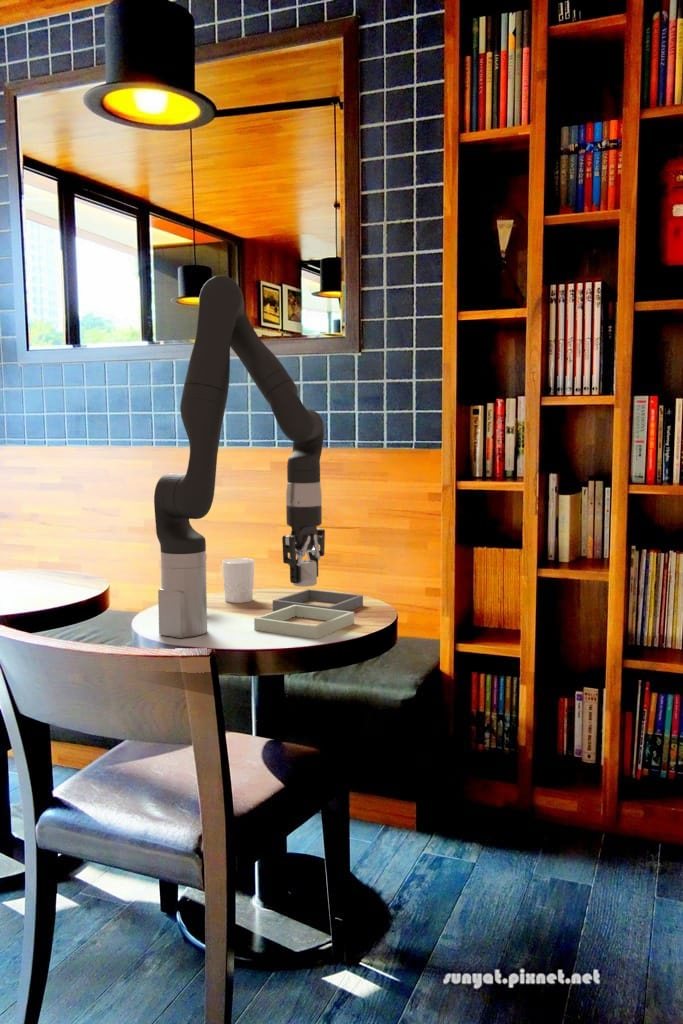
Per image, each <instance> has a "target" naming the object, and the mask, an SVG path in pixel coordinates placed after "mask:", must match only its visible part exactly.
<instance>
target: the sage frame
mask: <svg viewBox="0 0 683 1024" xmlns="http://www.w3.org/2000/svg"><path fill="white" fill-rule="evenodd" d="M295 616H297V617H296V618H303V617H304V618H305V619H311V620H319V621H324V622H322V623H319V624H316V625H313V624H305V623H298V622H292V621H287V620H289V619H292V617H293V618H295ZM304 618H303V619H304ZM284 620H285V621H284ZM253 621H254V622H253V623H254V629H253V630H254V631H259V630H260V631H262V632H266V633H274V634H281V635H287V636H294V637H300V638H307V639H315V640H318V639H320V638H322V637H323V638H324V637H326V636H328V635H331V634H333V633H334V632H338V631H340V630H342V629H345V628H346V627H349V626H351V625H355V612H354V611H341V610H333V609H325V608H317V607H309V606H301V605H292V606H289V607H286V608H283V609H280V610H277V611H271V612H269V613H266V614H262V615H260V616H256V617H253Z"/></svg>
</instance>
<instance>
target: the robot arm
mask: <svg viewBox="0 0 683 1024" xmlns="http://www.w3.org/2000/svg"><path fill="white" fill-rule="evenodd" d="M243 294H244V293H243V292H242V290H241V288H240V286H239V285H238V283H237V282H236V281H235V280H234V279H233V278H231V277H230V276H228V275H222V274H221V275H220V274H219V275H216V276H213V277H210V278H209V279H208V280H207V281H206V282H205V283H204V284H203V285H202V288H201V289H200V293H199V297H198V313H197V323H196V332H195V338H194V343H193V348H192V351H191V354H190V357H189V362H188V366H187V371H186V374H185V378H184V382H183V383H184V384H183V388H182V393H181V399H180V404H179V405H180V406H179V410H180V411H179V412H180V416H181V420H182V421H181V422H182V424H183V426H184V427H183V428H184V430H185V433H186V435H187V440H188V443H189V444H188V445H189V456H188V457H189V458H188V463H187V464H188V465H187V468H186V469H187V470H186V473H175V472H172V473H170V472H169V473H166V474H163V475H162V476H161V477H160V478H159V479H158V481H157V483H156V485H155V489H154V496H153V497H154V498H153V504H154V505H153V507H154V520H155V534H156V537H157V540H158V542H159V545H160V548H159V549H160V574H161V575H160V580H161V581H160V582H161V583H160V584H161V588H159V589H158V590H157V594H158V595H157V596H158V597H157V598H158V599H157V600H158V601H157V602H158V605H157V606H158V635H159V636H166V637H173V638H178V639H183V638H190V637H191V638H192V637H196V636H197V637H198V636H201V635H204V634H206V633H207V632H208V611H207V609H208V607H207V606H208V604H207V558H206V556H207V548H206V547H207V544H206V543H207V542H206V538H205V537H204V535H202V534H201V533H199V532H198V531H196V529H194V528H193V526H192V525H191V522H190V520H200V519H203V518H204V517H205V516H207V515H208V513H209V512H210V510H211V507H212V504H213V502H214V496H215V490H216V489H215V488H216V478H217V477H216V475H217V465H218V464H217V463H218V452H219V445H220V440H221V433H222V432H221V431H222V425H223V420H224V416H225V413H226V412H225V411H226V408H227V401H228V395H229V388H230V374H231V349H232V350H233V353H235V354H236V356H237V357H238V359H239V360H240V361H241V364H242V365H243V366H244V368H245V370H246V371H247V373H248V375H249V376H250V378H251V379H252V381H253V382H254V384H255V385H256V388H258V390H259V392H260V393H261V394H262V396H263V398H264V399H265V401H266V402H267V404H269V406H270V408H271V411H272V414H273V415H274V418H275V420H276V423H277V424H278V427H279V429H280V430H281V432H282V433H283V434H284V435H285V436H286V438H287V439H288V440H290V441H291V442H292V452H291V455H289V457H288V458H287V463H286V464H287V465H286V466H287V467H286V473H287V474H286V475H287V479H286V480H287V483H286V491H285V492H286V493H285V495H286V496H285V501H286V502H285V503H286V505H285V506H286V515H285V516H286V517H285V518H286V525H287V526H289V527H290V528H291V531H290V534H289V535H285V534H284V535H282V538H281V539H282V541H281V542H282V558H283V559H282V560H283V561H282V562H283V564H287V565H288V566H289V580H290V583H291V584H293V583H297V584H298V583H300V582H301V566H300V564H301V560H303V557H305V556H307V558H308V559H307V560H314V561H316V565H317V578H318V577H319V561H320V560H321V557H324V556H325V541H326V536H325V535H326V531H325V529H324V528H317V527H319V526H322V523H323V522H322V521H323V518H322V517H323V516H322V515H323V514H322V510H323V506H322V501H323V500H322V497H323V496H322V487H321V463H320V460H321V456H322V451H323V445H324V444H323V443H324V435H325V425H324V420H323V418H322V416H321V415H320V414H319V413H318V412H317V411H315V410H313V409H309V408H308V409H307V408H306V407H305V406H304V404H303V402H302V400H301V398H300V397H299V396H298V394H299V389H298V386H297V385H296V382H294V380H293V378H292V377H291V376H290V374H289V372H288V370H287V369H286V368H285V366H284V365H283V364H282V363H281V361H280V359H278V358H277V356H276V355H275V353H273V352H272V351H271V350H270V349H269V347H268V346H267V345H266V344H265V343H264V342H263V340H262V339H261V338H260V337H259V335H258V333H257V332H256V331H255V328H254V327H253V325H252V323H251V321H250V319H249V317H248V314H247V312H246V309H245V302H244V301H245V300H244V295H243Z"/></svg>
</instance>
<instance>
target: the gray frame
mask: <svg viewBox="0 0 683 1024" xmlns="http://www.w3.org/2000/svg"><path fill="white" fill-rule="evenodd" d="M307 600H308V601H314V600H315V602H316V601H317V602H323V603H331V604H332V605H329V606H327V605H320V604H319V605H318V604H311V603H305V602H307ZM304 601H305V602H304ZM300 602H302V603H300ZM292 605H301V606H309V607H317V608H325V609H333V610H341V611H349V612H352V611H353V610H355V609H358V608H360V607H363V606H364V595H361V594H353V593H346V592H337V591H336V592H335V591H327V590H326V591H325V590H317V589H309V588H308V589H304V590H301V591H298V592H295V593H292V594H288V595H285V596H281V597H279V598H276V599H273V600H272V612H274V611H277V610H280V609H283V608H286V607H289V606H292Z"/></svg>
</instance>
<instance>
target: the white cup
mask: <svg viewBox="0 0 683 1024" xmlns="http://www.w3.org/2000/svg"><path fill="white" fill-rule="evenodd" d="M221 562H222V563H221V565H222V577H223V579H222V580H223V590H224V599H225V600H224V601H225V602H226V603H234V604H237V603H238V604H242V603H243V602H244V603H249V601H250V602H252V601H253V594H254V593H253V592H254V591H253V590H254V581H255V559H252V558H246V557H241V558H239V557H237V558H226V559H223V560H222V561H221Z"/></svg>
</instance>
